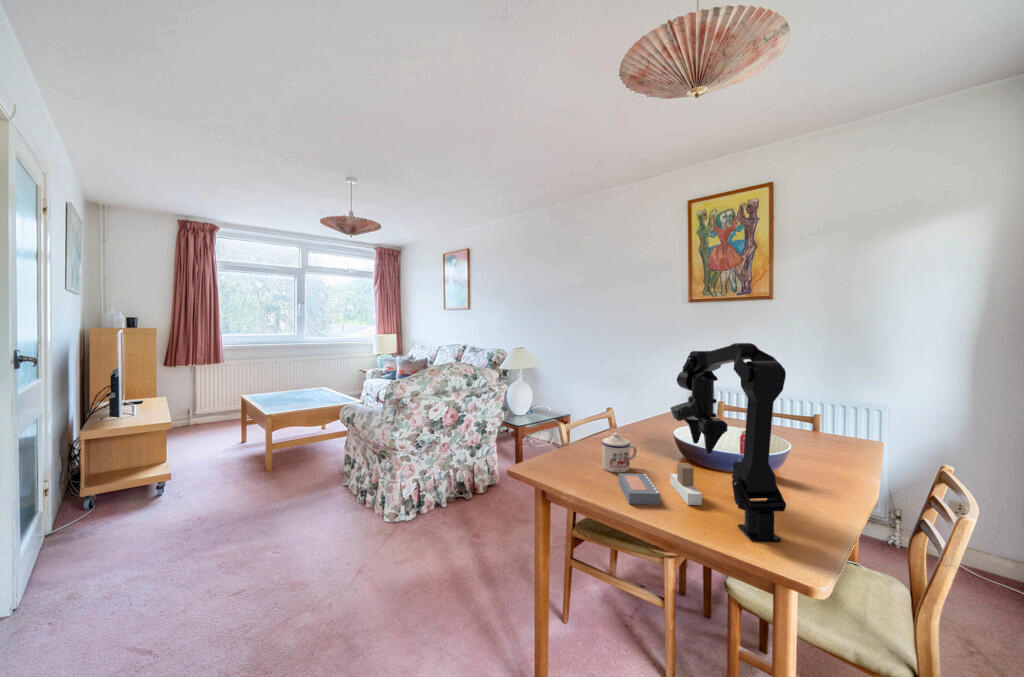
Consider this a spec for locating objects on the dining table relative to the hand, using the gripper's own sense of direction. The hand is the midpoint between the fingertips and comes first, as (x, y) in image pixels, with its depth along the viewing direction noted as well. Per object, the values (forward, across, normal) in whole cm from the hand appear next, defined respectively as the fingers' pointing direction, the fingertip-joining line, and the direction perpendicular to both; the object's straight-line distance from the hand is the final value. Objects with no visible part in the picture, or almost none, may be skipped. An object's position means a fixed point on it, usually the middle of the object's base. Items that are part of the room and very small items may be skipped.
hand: (701, 448), depth 117 cm
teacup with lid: (+12, -16, -20) cm, 28 cm away
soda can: (+12, -13, +21) cm, 28 cm away
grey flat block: (+12, +4, -19) cm, 23 cm away
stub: (+12, +4, -6) cm, 14 cm away
